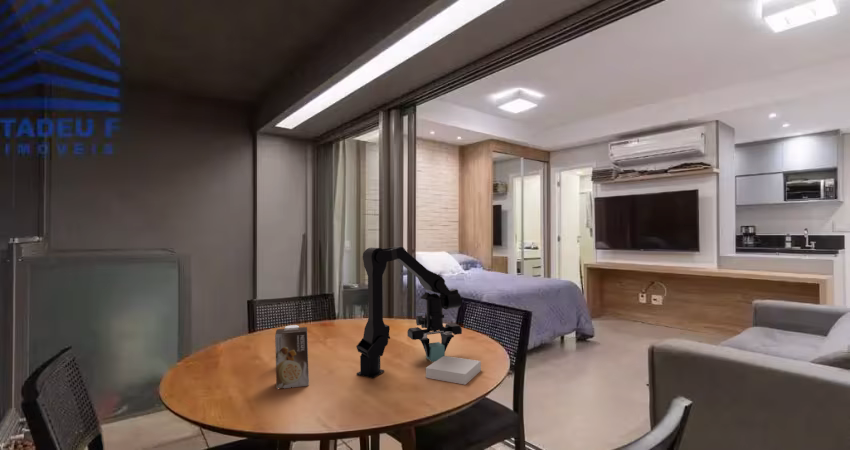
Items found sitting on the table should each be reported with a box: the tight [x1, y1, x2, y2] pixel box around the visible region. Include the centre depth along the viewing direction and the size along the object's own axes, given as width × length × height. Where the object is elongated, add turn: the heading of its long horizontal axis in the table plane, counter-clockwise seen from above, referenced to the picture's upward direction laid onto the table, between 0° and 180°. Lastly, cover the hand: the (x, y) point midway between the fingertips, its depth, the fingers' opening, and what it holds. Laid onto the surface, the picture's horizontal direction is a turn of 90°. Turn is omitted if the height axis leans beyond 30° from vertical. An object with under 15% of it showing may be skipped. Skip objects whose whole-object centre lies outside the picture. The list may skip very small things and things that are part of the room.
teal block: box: [425, 341, 446, 363], centre depth 139 cm, size 5×5×5 cm
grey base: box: [425, 355, 482, 385], centre depth 123 cm, size 13×13×3 cm
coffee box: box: [274, 326, 310, 390], centre depth 118 cm, size 9×6×16 cm
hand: (435, 355), depth 139 cm, fingers open, 5 cm apart
